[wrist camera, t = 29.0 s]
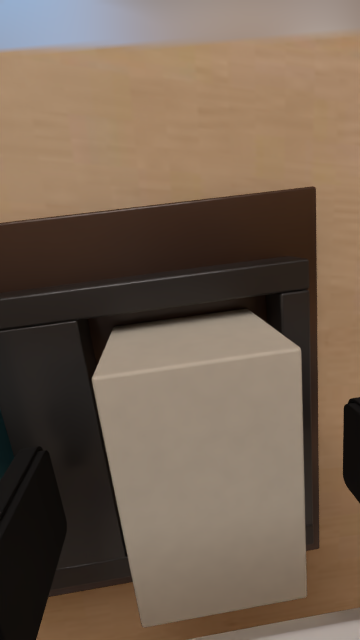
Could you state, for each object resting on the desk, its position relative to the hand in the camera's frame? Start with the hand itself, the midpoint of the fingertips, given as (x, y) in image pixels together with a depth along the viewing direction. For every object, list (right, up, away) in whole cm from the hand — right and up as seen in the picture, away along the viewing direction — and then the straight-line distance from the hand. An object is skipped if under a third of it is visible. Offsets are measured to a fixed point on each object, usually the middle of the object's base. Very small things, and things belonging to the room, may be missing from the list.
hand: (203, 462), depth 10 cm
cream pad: (0, +1, +3) cm, 3 cm away
